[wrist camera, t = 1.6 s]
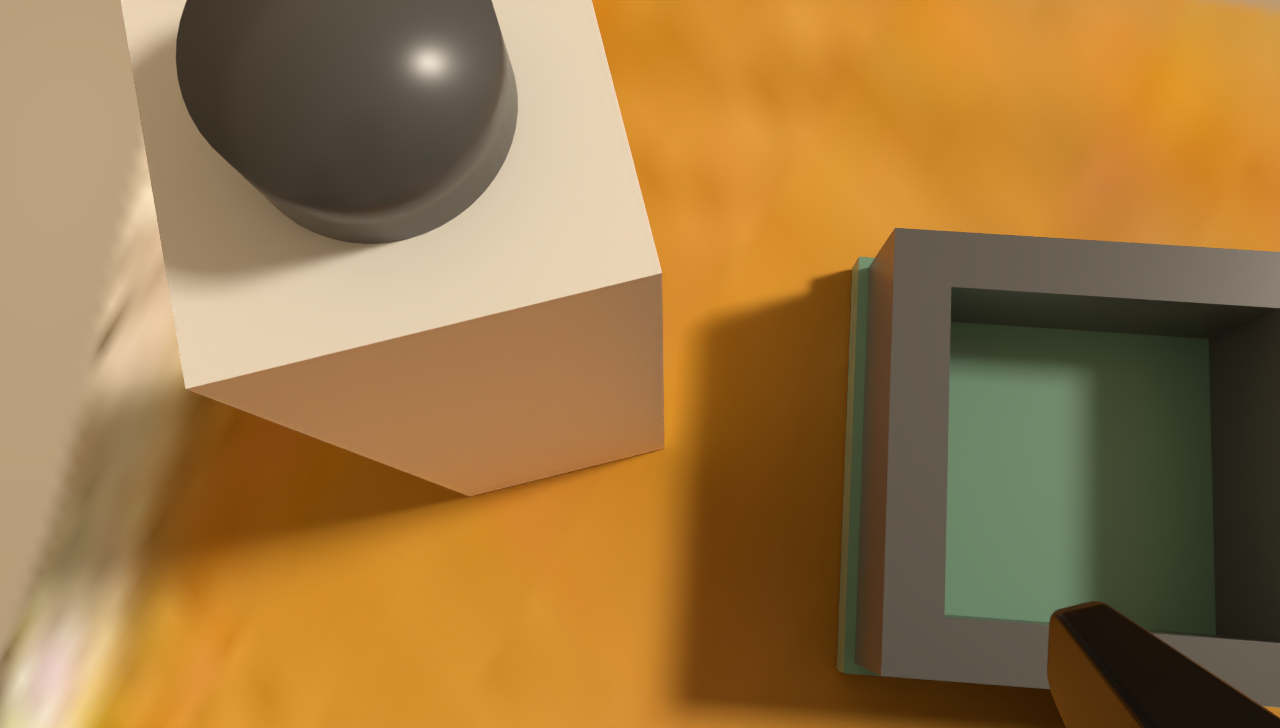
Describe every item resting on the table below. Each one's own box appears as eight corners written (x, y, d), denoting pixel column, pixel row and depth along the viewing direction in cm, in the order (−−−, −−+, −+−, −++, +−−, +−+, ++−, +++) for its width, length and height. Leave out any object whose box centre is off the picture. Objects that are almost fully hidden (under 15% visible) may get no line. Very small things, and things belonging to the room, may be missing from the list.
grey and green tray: (1260, 702, 20) (1372, 727, 17) (836, 669, 21) (868, 687, 18) (1247, 293, 22) (1348, 245, 19) (852, 268, 22) (884, 216, 19)
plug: (663, 448, 22) (662, 226, 8) (469, 496, 22) (110, 361, 8) (617, 261, 22) (537, -248, 8) (429, 307, 22) (35, -132, 8)
